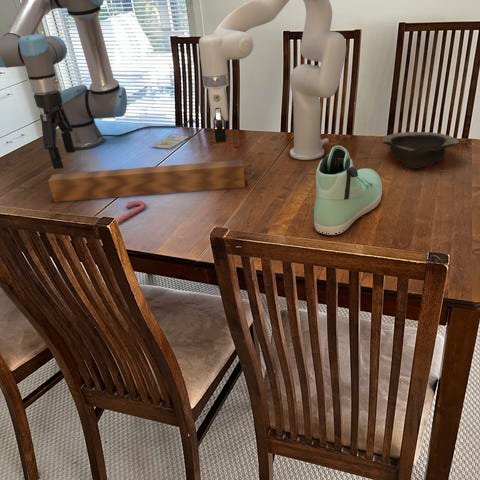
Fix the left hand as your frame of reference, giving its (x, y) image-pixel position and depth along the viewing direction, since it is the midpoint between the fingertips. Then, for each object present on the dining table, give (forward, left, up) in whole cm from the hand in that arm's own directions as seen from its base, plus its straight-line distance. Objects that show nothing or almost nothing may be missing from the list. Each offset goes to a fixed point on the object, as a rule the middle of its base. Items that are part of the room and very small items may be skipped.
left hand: (65, 160), depth 152 cm
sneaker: (-56, +68, -13) cm, 89 cm away
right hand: (-41, +29, +4) cm, 50 cm away
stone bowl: (-100, +61, -13) cm, 118 cm away
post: (-20, +15, -13) cm, 28 cm away
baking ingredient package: (-50, -21, -13) cm, 56 cm away
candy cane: (-7, +25, -13) cm, 29 cm away
